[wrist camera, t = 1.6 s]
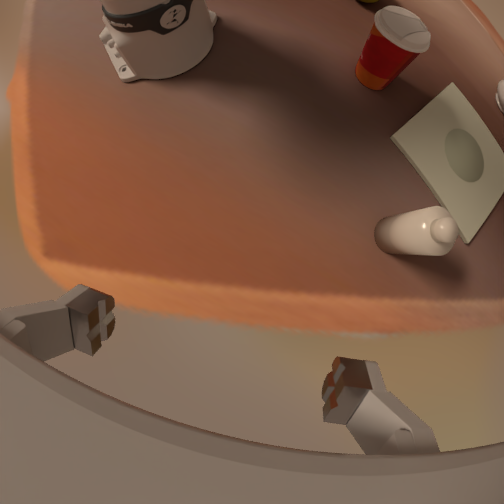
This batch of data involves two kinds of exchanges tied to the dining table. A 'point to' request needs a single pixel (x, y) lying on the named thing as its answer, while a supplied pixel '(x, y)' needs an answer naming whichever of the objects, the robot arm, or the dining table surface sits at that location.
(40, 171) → the dining table surface
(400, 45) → the paper cup
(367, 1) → the lemon
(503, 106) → the flower vase
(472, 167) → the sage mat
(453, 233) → the cream bottle
